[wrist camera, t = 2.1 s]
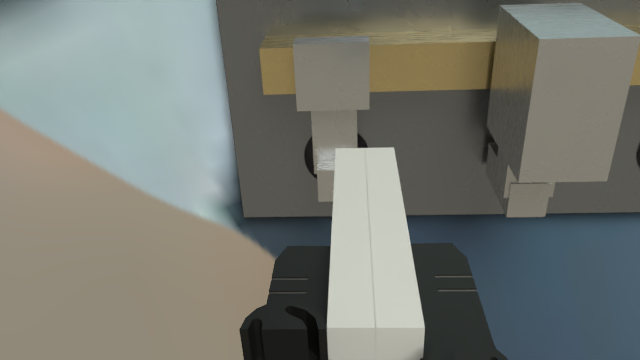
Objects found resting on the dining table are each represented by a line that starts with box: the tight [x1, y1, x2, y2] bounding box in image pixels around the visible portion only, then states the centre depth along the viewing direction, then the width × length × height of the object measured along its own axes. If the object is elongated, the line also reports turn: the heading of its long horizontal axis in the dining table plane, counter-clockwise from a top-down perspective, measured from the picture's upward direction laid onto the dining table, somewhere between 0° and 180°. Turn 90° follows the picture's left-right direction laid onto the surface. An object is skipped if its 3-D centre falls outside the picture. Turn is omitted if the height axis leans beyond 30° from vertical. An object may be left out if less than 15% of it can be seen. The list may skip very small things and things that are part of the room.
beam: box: [259, 24, 640, 202], centre depth 24 cm, size 7×25×3 cm, turn 92°
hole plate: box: [216, 0, 640, 217], centre depth 26 cm, size 12×28×1 cm, turn 92°
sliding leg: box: [486, 3, 640, 217], centre depth 22 cm, size 8×3×7 cm, turn 2°
